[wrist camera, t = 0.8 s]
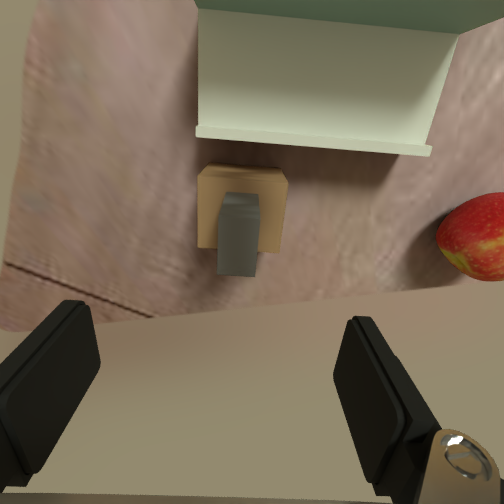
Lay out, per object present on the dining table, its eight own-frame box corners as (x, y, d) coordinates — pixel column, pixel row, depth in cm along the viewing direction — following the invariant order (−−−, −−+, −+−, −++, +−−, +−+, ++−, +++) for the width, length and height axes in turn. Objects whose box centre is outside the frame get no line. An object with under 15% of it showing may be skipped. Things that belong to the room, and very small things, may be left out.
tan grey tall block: (280, 168, 28) (300, 205, 17) (273, 225, 31) (287, 292, 19) (209, 162, 28) (179, 196, 16) (208, 220, 31) (182, 285, 19)
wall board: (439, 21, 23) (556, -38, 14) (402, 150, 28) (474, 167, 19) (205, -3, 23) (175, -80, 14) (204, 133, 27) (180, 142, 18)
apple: (412, 217, 31) (461, 249, 24) (490, 166, 28) (572, 184, 21) (443, 268, 33) (496, 310, 26) (517, 225, 31) (597, 258, 24)
